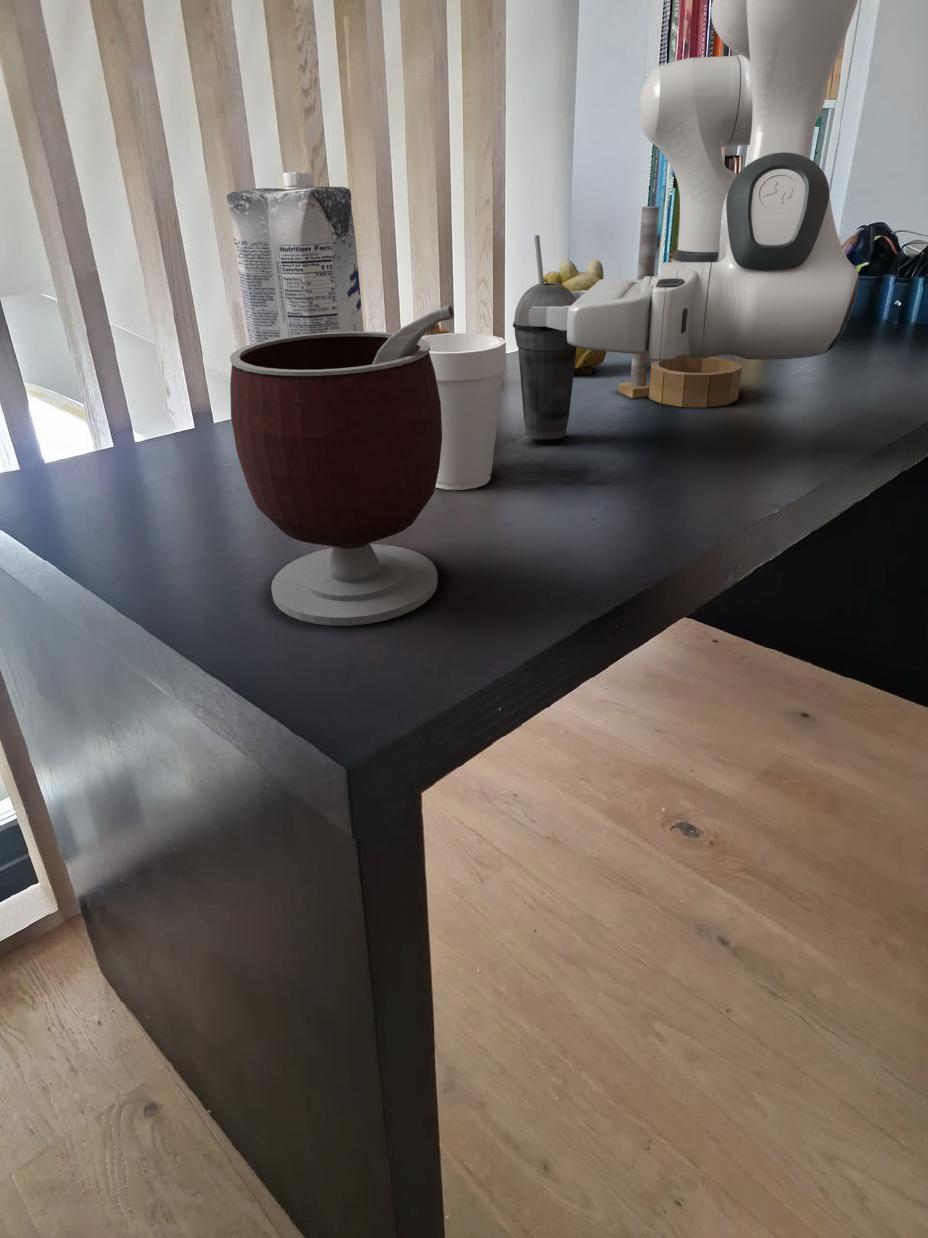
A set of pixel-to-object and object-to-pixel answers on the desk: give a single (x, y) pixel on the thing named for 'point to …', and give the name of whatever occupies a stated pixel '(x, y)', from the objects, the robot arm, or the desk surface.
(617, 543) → the desk surface
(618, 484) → the desk surface
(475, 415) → the foam cup
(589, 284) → the decorative figurine
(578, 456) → the desk surface
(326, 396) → the mate gourd
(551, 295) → the beverage cup
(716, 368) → the holder
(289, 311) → the juice carton
